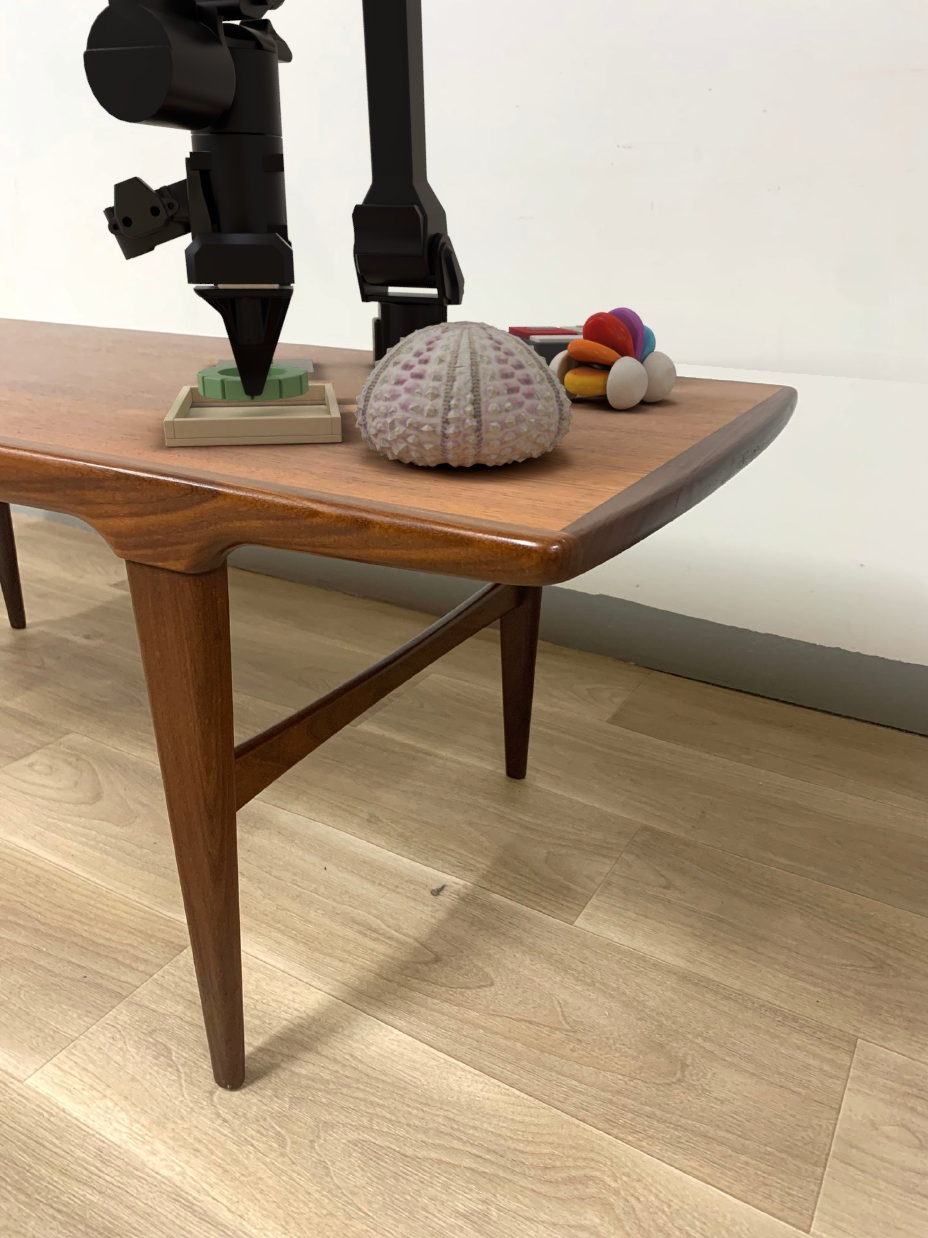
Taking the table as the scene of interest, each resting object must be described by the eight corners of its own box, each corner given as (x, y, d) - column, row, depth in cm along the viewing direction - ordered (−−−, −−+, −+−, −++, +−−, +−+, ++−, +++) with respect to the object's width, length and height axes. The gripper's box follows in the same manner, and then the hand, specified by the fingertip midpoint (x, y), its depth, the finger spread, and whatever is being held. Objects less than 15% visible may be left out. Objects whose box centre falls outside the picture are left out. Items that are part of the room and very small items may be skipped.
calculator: (607, 323, 98) (656, 332, 84) (605, 366, 99) (652, 382, 85) (502, 324, 96) (534, 333, 82) (501, 367, 98) (532, 384, 84)
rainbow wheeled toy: (531, 401, 77) (535, 307, 74) (601, 387, 84) (607, 300, 81) (619, 416, 72) (626, 316, 69) (686, 400, 78) (695, 307, 76)
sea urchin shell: (311, 456, 59) (304, 321, 56) (452, 423, 69) (453, 307, 66) (479, 495, 51) (481, 341, 48) (610, 452, 61) (620, 322, 58)
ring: (307, 381, 71) (306, 362, 71) (310, 400, 64) (308, 379, 64) (203, 383, 70) (201, 364, 69) (194, 402, 63) (192, 381, 62)
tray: (333, 405, 75) (332, 383, 74) (341, 442, 63) (340, 416, 62) (185, 408, 73) (183, 385, 72) (166, 446, 61) (163, 420, 60)
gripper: (127, 143, 68) (153, 367, 74) (75, 121, 51) (113, 413, 57) (286, 146, 70) (298, 365, 76) (286, 126, 53) (301, 410, 59)
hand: (255, 385), depth 67 cm, fingers closed on ring, 7 cm apart
